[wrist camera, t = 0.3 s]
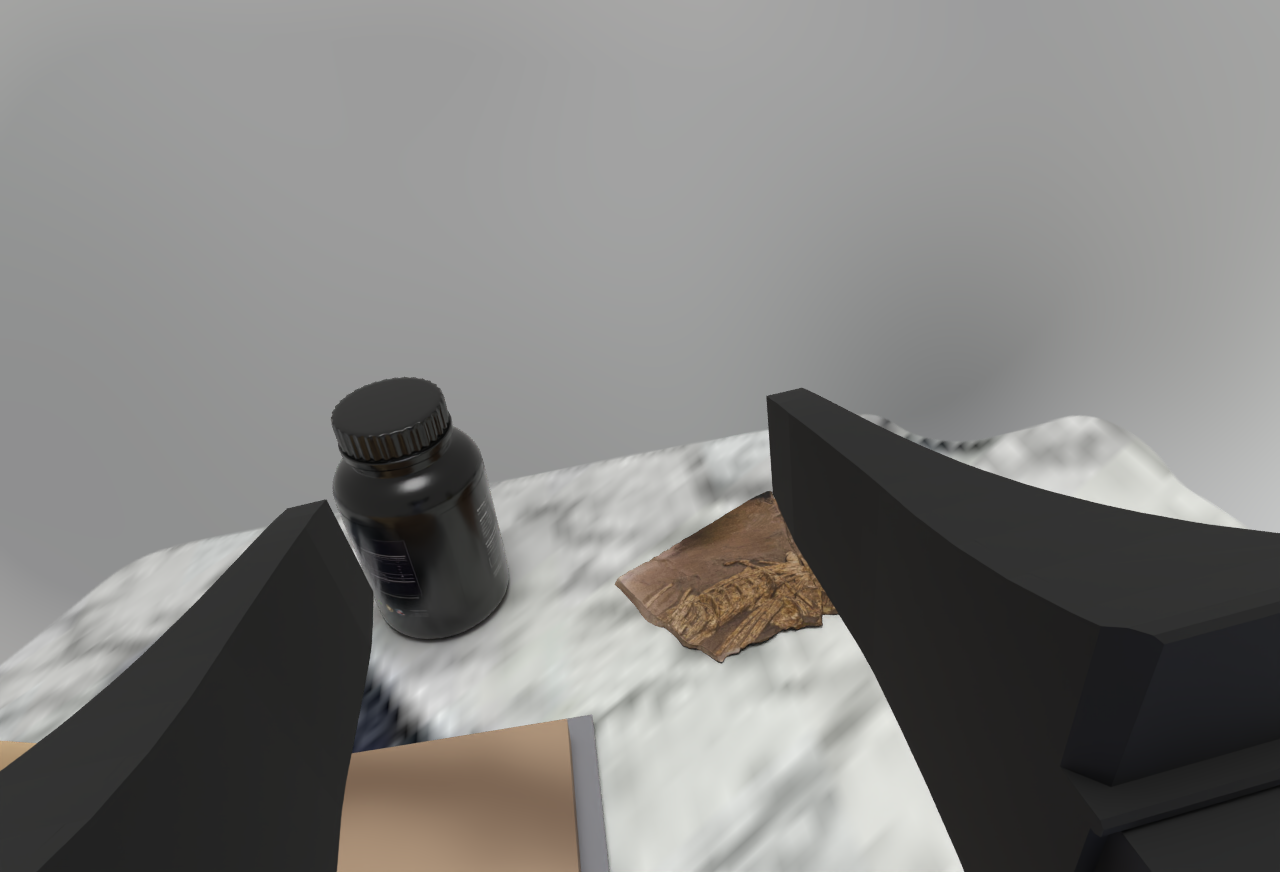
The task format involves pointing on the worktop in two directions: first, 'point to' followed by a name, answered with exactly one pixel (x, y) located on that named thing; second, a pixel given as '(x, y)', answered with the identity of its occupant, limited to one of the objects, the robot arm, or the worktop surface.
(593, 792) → the underlay mat
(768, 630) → the wooden fragment
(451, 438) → the supplement bottle
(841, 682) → the worktop surface
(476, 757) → the walnut floorboard
